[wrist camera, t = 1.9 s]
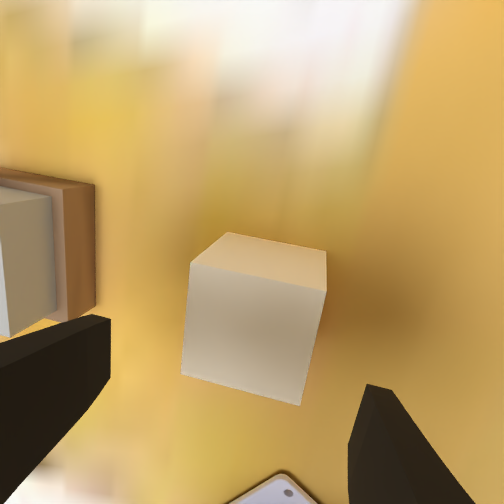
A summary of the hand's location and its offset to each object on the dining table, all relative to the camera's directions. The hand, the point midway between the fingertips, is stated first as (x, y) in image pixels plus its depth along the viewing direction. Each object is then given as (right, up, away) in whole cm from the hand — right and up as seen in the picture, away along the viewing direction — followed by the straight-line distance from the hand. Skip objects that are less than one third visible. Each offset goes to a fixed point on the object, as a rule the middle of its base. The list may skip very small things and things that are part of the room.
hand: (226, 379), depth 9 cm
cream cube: (+1, +2, +7) cm, 7 cm away
